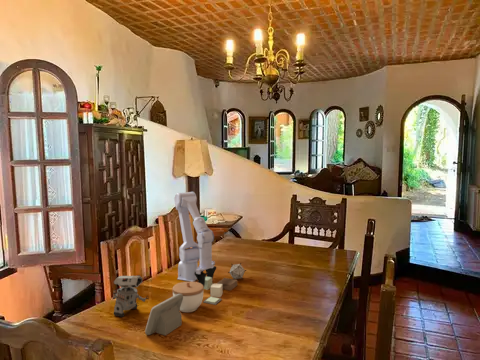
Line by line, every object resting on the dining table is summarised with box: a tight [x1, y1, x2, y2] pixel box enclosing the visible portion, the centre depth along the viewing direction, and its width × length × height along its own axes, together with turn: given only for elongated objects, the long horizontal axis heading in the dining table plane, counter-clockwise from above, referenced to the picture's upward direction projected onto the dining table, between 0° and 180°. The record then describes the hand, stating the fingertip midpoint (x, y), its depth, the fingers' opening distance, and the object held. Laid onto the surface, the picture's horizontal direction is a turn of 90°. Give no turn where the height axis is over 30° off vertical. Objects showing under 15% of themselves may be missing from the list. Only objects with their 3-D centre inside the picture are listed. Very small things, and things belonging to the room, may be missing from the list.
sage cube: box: [204, 276, 213, 291], centre depth 166 cm, size 4×4×4 cm
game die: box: [227, 262, 247, 280], centre depth 177 cm, size 9×8×10 cm
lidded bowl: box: [171, 281, 205, 313], centre depth 143 cm, size 13×13×11 cm
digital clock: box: [144, 294, 183, 336], centre depth 127 cm, size 16×9×11 cm, turn 139°
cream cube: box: [209, 282, 224, 298], centre depth 157 cm, size 4×4×4 cm
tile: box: [202, 296, 223, 306], centre depth 150 cm, size 6×6×1 cm
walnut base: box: [216, 277, 238, 291], centre depth 167 cm, size 7×7×3 cm
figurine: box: [112, 274, 149, 318], centre depth 139 cm, size 9×12×15 cm
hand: (205, 284), depth 166 cm, fingers open, 7 cm apart
